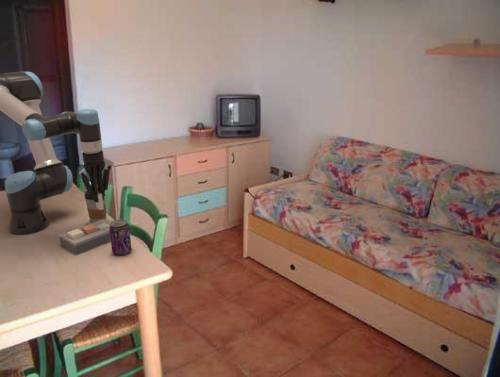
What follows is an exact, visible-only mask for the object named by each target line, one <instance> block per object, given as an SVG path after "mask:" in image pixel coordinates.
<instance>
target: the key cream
mask: <svg viewBox="0 0 500 377" xmlns="http://www.w3.org/2000/svg"><path fill="white" fill-rule="evenodd" d="M69 231H70V232H68V231H66V232H67V236H68V238H70V239H72V240H75V239H78V238H80V237H83V236H84V232H83V231H81V230H79V229H77V228H75V230H74V229H72V231H71V230H69Z"/></svg>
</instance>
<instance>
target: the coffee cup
mask: <svg viewBox="0 0 500 377" xmlns="http://www.w3.org/2000/svg"><path fill="white" fill-rule="evenodd" d="M97 189H98V187H97ZM84 200H85V202H86V209H87V213H88V214H87V215H88V218H89V221H90V224H91V223H94V222H97V221H100V220H106V221H107V204H106V192H105V193H104V200H103V207H104V209H103V210H99V209H97V206H96V202H94V199H93V194H92V195H91V194H89V193H88V192H87V190H86V191H85V192H84Z"/></svg>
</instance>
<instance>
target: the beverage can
mask: <svg viewBox="0 0 500 377" xmlns="http://www.w3.org/2000/svg"><path fill="white" fill-rule="evenodd" d="M130 230H131V229H130V225H129V223H128V221H127V220H126V219H120V218H119V219H115V220H112V221H110V227H109V232H110V239H111V242H110V244H111V245H110V246H111V252H112V254H114V255H118V256H123V255H126V254H128V253H130V252H131V251H132V240H131V239H132V238H131V232H130Z"/></svg>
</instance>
